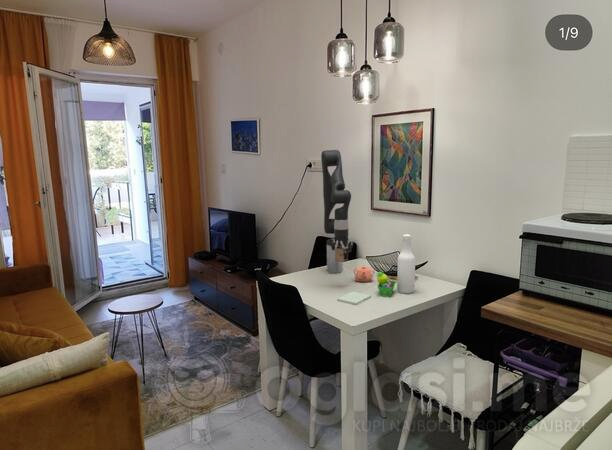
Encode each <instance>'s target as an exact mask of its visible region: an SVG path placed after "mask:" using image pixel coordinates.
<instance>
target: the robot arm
mask: <svg viewBox="0 0 612 450" xmlns="http://www.w3.org/2000/svg"><path fill="white" fill-rule="evenodd" d="M329 167H335V169H334V171H333V172H332V174H330V172H329V169H328V168H329ZM321 170H322V186H323V187H322V188H323V189H322V195H323V196H322V197H323V206H324V207H323V208H324V211H323V212H324V213H323V215H324V216H323V229H324V233H325V234H329V235H334V237H331V238H329V239H327V240H326V272H327V273H329V274H341V273H342V272H343V270H344V269H343V268H344V267H343V264H344V262H338V261H335V248H339V247H342V248H343V249H344V260H347V259H348V260H349V253H351V252H352V249H353V245H354V241H352V240H350V239H349V207H350V203H351V201H352V193H351V192H350V191H349V190H348V189H346V184H345V180H344V175H343V162H342V156H341V152H340V150H338V149H329V150H327V149H326V150H322V151H321ZM340 204H342V206H341V207H337V208H335V206H336V205H340ZM334 208H335V209H334ZM333 210H334V218H330V217H331V213H332V211H333Z"/></svg>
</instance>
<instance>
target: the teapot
mask: <svg viewBox="0 0 612 450" xmlns="http://www.w3.org/2000/svg"><path fill="white" fill-rule="evenodd" d="M353 274H354V279H356V282H359V283H362V282H365V283H369V282H370V283H371V282H372V279H374V274H375V270H374V269H373V268H372V267H370V266H369V267H367V266H365V264H364V265H363V266H356V268H355V269H353Z"/></svg>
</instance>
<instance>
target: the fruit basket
mask: <svg viewBox="0 0 612 450" xmlns="http://www.w3.org/2000/svg"><path fill="white" fill-rule="evenodd" d="M376 277H377V283H378V285H377V289H378V292H379V296H381V297H391V296H392V294H393V292H394V289H395V285H396V281H394V280H389V278H388V276H387V275H386V274H385V273H384V272H383V271H379V272H377V275H376Z"/></svg>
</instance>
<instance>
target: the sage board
mask: <svg viewBox="0 0 612 450" xmlns="http://www.w3.org/2000/svg"><path fill="white" fill-rule="evenodd" d="M370 298H372V294H371V295H370V294H366V293H362V292H358V291H350V292H348V293H346V294H345V295H342V296H339V297H337V298H336V301H338V302H342V303H345V304H349V305H353V306H354V305H355V306H357V305H359V304H361V303H363V302H365V301H367V300H369V299H370Z"/></svg>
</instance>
